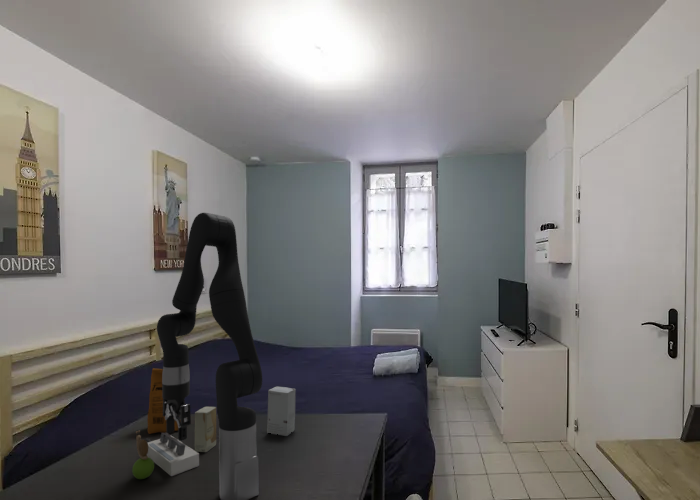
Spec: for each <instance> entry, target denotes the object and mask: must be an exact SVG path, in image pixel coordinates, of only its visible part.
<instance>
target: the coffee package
mask: <svg viewBox="0 0 700 500" xmlns="http://www.w3.org/2000/svg"><path fill="white" fill-rule="evenodd" d="M162 373H163V368H154V367H153V368H152V370H151V375H150V391H149V396H148V397H149V398H148V399H149V402H148V410H147V434H148V435H152V434H156V433H167V432H166V420H165V416H164V417H163V397H162ZM173 419H174V418H173ZM180 422H181V420H180ZM176 431H177V432H178V424H177V421H175V430H174V432H176Z"/></svg>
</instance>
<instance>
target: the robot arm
mask: <svg viewBox="0 0 700 500" xmlns="http://www.w3.org/2000/svg"><path fill="white" fill-rule="evenodd" d="M237 242H238V241H237V232H236V227H235V224H234V221H233V220H232V219H231V218H230V217H228V216H224V215H219V214H215V213H214V214H213V213H209V212H200V213H199V214H197V215H196V216H195V217H194V219H193V221H192V223H191V226H190V230H189V234H188V239H187V243H186V249H185V255H184V262H183V267H182V270H181V275H180V278H179V281H178V284H177V287H176V288H175V291H174V294H173V296H172V297H173V298H172V301H171V304H172V306H173V307H174V308H175V309H177V310H179V311H178V312H177V313H167V314H163V315H162V316H160V318H159V319H158V321H157V324H156V332H157V333H156V334H157V336H158V339H159V343H160V346H161V351H162V355H163V357H162V359H163V361H162V362H163V363H162V369H163V373H162V397H163V417H164V416H165V420H166V432H167V433H168V434H170V433H174V432H175V431H174V430H175V421H177V424H178V430H177V433H178V434H177V440H179V441H180V442H182V441H185V440H186V439H187V438H188V437H187V435H188V431H187V429H188V428H187V427H189V426H191V424H192V422H191V416H192V415H191V404H190V403H186V401H185V398H186V397H188V396H190V393H191V392H190V391H191V390H190V388H191V387H190V386H191V382H190V381H191V379H190V378H191V376H190V374H191V373H190V372H191V371H190V366H189V365H190V363H189V360H190V359H189V356H190V353H189V347H188V345H187V344H183V343H179V342H178V340H177V337H183V336H187V335H189V334H191V332H192V331H193V329H195V326H196V320H197V318H196V317H197V310H198V309H197V305H198V303H199V300H200V297H201V296H202V293H203V290H204V285H205V277H204V273H203V268H202V254H203V252H204V249H205V247H215V248H216V251H217V252H216V253H217V260H218V266H217V269H216V272H215V273H214V276H213V278H212V280H211V283H210V285H209V289H208V298H209V304H210V309H211V314H212V317H213V319H214V320H215V323H217V324H218V325H219V327H220V328H221V329H222V330H223V331H224V332H225V333H226V334H227V336H229V338H230V339H231V341H232V342H233V344H234V346H235V349H236V352H237V356H238V358H239V359H238V360H232V361H227V362H223V363H221V364H219V366H217V368H216V372H215V391H216V392H215V394H216V414H217V418H218V475H219V476H218V477H219V479H218V480H219V481H218V482H219V483H218V484H219V485H218V486H219V489H218V490H219V491H218V492H219V494H218V495H219V499H220V500H251V499H252V498H255V497H257V496H259V491H260V490H259V488H260V487H259V486H260V485H259V456H258V455H257V412H256V410H254V409H253V408H250V407H247V406H246V407H245V406H238V399H239V398H243V397H247V396H250V395H253V394H257V393H258V392H260V391H261V389H262V386H263V372H262V366H261V363H260V360H259V359H260V358H259V355H258V352H257V348H256V344H255V341H254V337H253V334H252V333H253V332H252V330H251V323H250V320H249V314H248V309H247V301H246V297H245V296H246V295H245V289H244V287H243V281H242V277H241V270H240V264H239V257H238V243H237ZM173 418H174V419H173ZM180 420H181V422H180Z"/></svg>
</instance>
